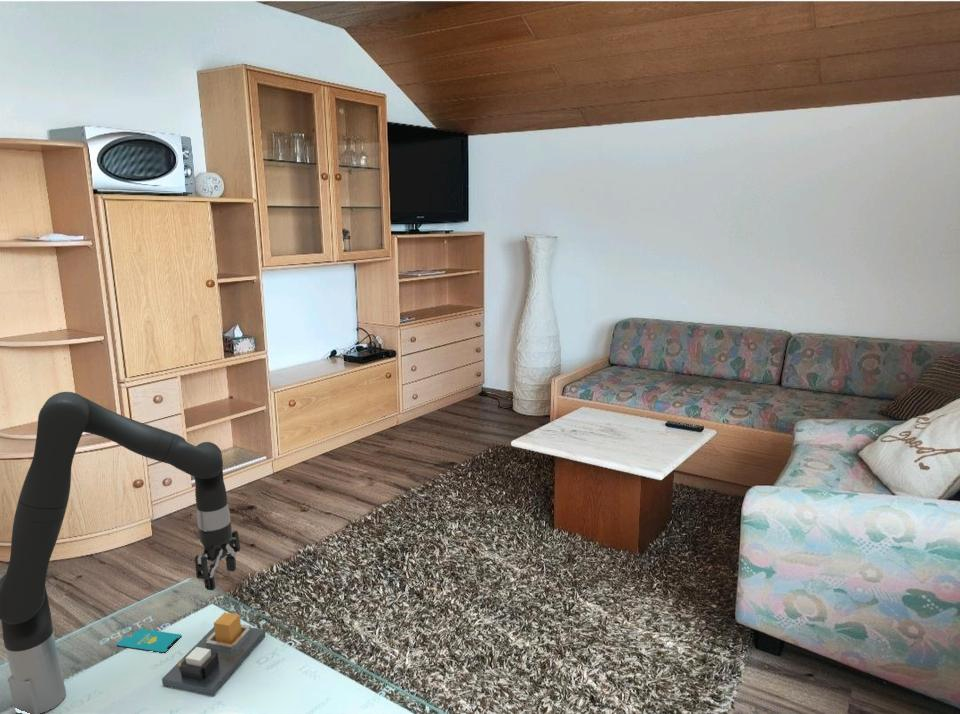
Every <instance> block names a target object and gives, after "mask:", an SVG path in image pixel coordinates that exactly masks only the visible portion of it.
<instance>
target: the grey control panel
mask: <svg viewBox="0 0 960 714" xmlns="http://www.w3.org/2000/svg"><path fill="white" fill-rule="evenodd" d="M241 631H242V634H241V635H240V636H239V637H238V638H237V639H236V640H235V641H234V642H233V644H228V643H222V642H217V641H216V636H215V629H214V626H213V627H212V628H211V629H210V630H209V631H208V632H207V633H206V634H205V635H204V636H203V637H202V638H201V639H200V640H199V641H198V642H197V643H196V644H195V645H194V646H193V647H192V648H191V649H190V650H189V651H188V652H187V653H186V654H185V655H184V656H183V657H182V658H181V659H180V660H179V661H178V662H177V663H176V664H175V665H174V666H173V667H172V668H171V669H170V670H169V671H168V672H167V673H166V674H165V675H164V676H163V677H162V678H161V682H162V687H165V688H166V687H167V688H172V689H176V690H181V691H187V692H189V693H190V692H191V693H196V694H200V695H204V696H210V697H214V696H215V695H216V694H217V692H218V691H219V690H220V689H221V688H222V687H223V686H224V685H225V683H226V682H227V681H228V680H229V679H230V678H231V676H232V675H233V674H234V673H235V672H236V671H237V670H238V669H239V667H240V666H241V665H242V664H243V663H244V662H245V661H246V660H247V658H248V657H249V656H250V655H251V654H252V652H253V651H254V650H255V649H257V647H258V645H259V644H260V643H261V642H262V641H264V639H265V637H266V629H263V628H257V627H251V625H246V624H242V623H241ZM196 647H200V648H205V649H210V650H211V657H210V658H209V659H208V660H207V661H206V662H205V663H204V664H203V665H202V666H201V667H198V666H193V665H188V664H186V657H187V656H188V655H189V654H190V653H191V652H192V651H193V650H194V649H195V648H196Z"/></svg>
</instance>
